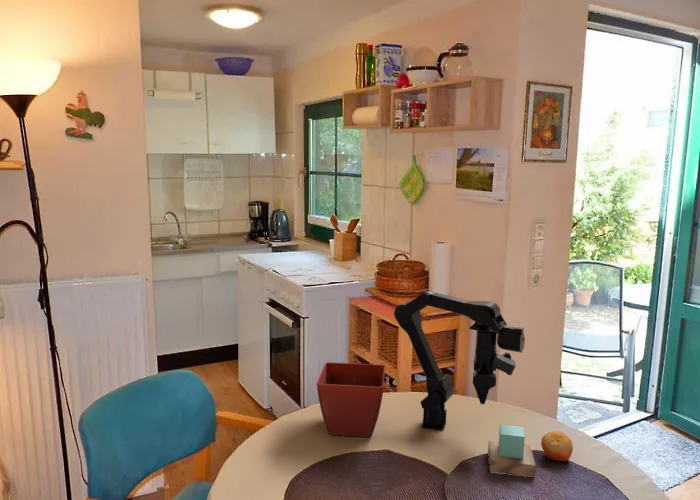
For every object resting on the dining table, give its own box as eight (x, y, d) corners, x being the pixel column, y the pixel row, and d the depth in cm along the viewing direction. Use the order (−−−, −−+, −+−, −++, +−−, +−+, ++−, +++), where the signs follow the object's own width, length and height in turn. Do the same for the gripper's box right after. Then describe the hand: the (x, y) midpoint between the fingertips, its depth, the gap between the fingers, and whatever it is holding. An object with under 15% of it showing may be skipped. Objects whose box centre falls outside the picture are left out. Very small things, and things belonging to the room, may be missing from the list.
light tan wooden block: (490, 474, 144) (491, 460, 144) (487, 454, 155) (488, 440, 154) (534, 480, 142) (535, 465, 142) (529, 458, 153) (530, 444, 152)
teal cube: (499, 455, 146) (500, 434, 145) (498, 445, 152) (499, 424, 151) (523, 458, 144) (524, 436, 144) (521, 448, 150) (523, 427, 150)
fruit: (571, 445, 157) (573, 428, 152) (571, 471, 151) (573, 454, 146) (540, 440, 159) (542, 424, 154) (539, 465, 153) (541, 449, 149)
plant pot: (324, 411, 179) (325, 361, 177) (384, 415, 177) (385, 364, 175) (315, 439, 160) (316, 383, 158) (381, 444, 158) (383, 387, 156)
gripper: (516, 359, 150) (512, 414, 152) (513, 339, 168) (509, 389, 170) (474, 355, 152) (471, 409, 154) (475, 335, 170) (472, 384, 172)
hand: (482, 397), depth 163 cm, fingers open, 9 cm apart
